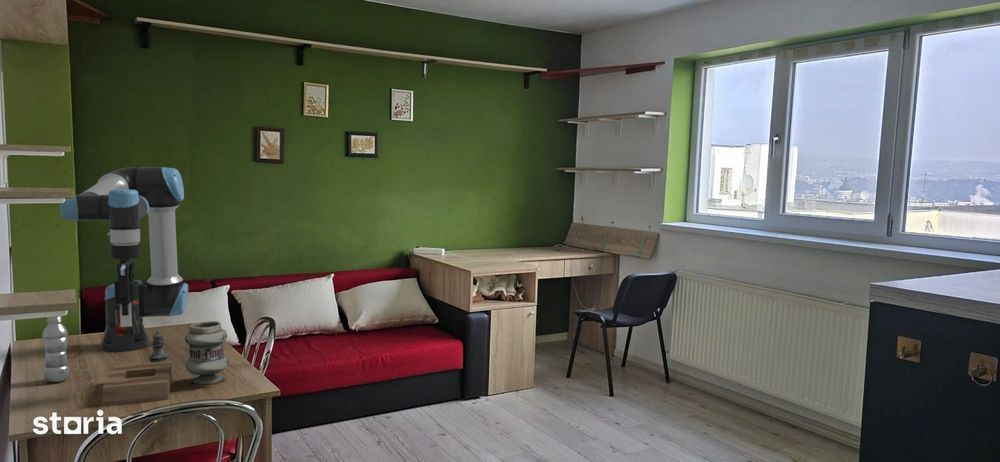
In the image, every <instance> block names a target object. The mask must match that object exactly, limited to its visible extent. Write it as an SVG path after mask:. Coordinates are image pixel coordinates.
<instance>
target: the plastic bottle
mask: <svg viewBox="0 0 1000 462" xmlns="http://www.w3.org/2000/svg"><path fill="white" fill-rule="evenodd" d="M46 324H47V325H46V326H45V328H44V329H43V331H42V335H41V337H42V339H43V345H44V353H45V354H44V355H45V359H44V368H43V372H42V373H43V374H42V375H43V378H44V381H46V382H48V383H59V382H63V381H66V380H67V379H68V378H69V377H70V372H71V371H70V366H69V364H68V363H69V362H68V357H67V356H68V355H67V349H68V340H69V339H68V336H69V331H68V329H67V327H66V326H65V325H64V324H63V315H62V316H57V317H47V316H46Z"/></svg>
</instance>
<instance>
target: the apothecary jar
mask: <svg viewBox="0 0 1000 462" xmlns="http://www.w3.org/2000/svg"><path fill="white" fill-rule="evenodd" d="M227 339H228V333H227V331H226V330H225V329H223V327H222V324H221V322H220V321H214V320H210V321H209V320H208V321H199V322H195V323H192V324H191V325H190V329H189V331H188V332H187V333H186V335H185V336H184V341H185V343H187V344H188V346H189V359H187V361H186V362H185V369H186V371H188V372H189V373H190V374H192V375H195V376H197V377H195V378H194V377H193V378H192V379H191V380H190V381H189V384H190V385H192V386H193V387H195V388H196V387H197V388H198V387H199V388H205V387H208V388H209V387H214V386H218V384H219V385H221V384H222V383H223V384H224V382H225V381H226V378H225V377H224V376H222V375H218V374H220V373H221V372H222V371H224V370H225V369H226V368H227V367H229V366H228V365H229V364H230V363H229V362H230V361H229V358H228V357H227V355H225V351H224V350H225V349H224V342H225V341H226V340H227Z"/></svg>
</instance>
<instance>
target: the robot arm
mask: <svg viewBox="0 0 1000 462" xmlns="http://www.w3.org/2000/svg"><path fill="white" fill-rule="evenodd" d="M184 188H185V187H184V183H183V179H182V175H181V173H180V171H179V170H178V169H176V168H174V167H173V168H172V167H163V166H161V167H157V166H156V167H155V166H153V167H150V166H146V167H139V166H138V167H135V166H130V167H129V166H128V167H122V168H119V169H116V170H113V171H109V172H108V173H106V174H104V175H102V176H101V177H99V179H98V180H97V183H96V184H94V185H93V186H91V187H89V188H88V189H87V190H84V191H83V192H81V193H79V194H75V198H74V199H66V200H65V202H64V203H60V202H59V211H60V215H61V217H62V219H64V220H65V221H75V222H78V221H109V232H107V233H106V234H107V236H108V237H109V242H110V244H111V245H110V246H109V247H110V249H109V250H110V252H109V253H110V254H109V255H110V258H111V259H115V260H119V263H118V264H117V265H116V269H117V270H116V271H117V282H118V298H119V300H118V302H117V304H120V327H128V326H132V322H131V303H130V281H132V280H134V281H138V300H139V334H136V335H131V336H118V335H116V315H115V287H114V283H113V284H110V285H108V286H107V287H106V288H105V290H104V292H105V293H104V294H105V296H104V303H105V307H104V308H105V330H104V332H103V336H102V338H101V342H100V349H101V350H103V351H106V352H107V351H108V352H127V351H134V350H139V349H143V348H144V347H147V346H149V344H150V338H149V335H148V333H147V330H146V328H145V324H144V318H145V317H146V318H148V317H151V318H152V317H173V316H175V317H176V316H181V315H182V314H184V312H185V310H186V306H187V301H188V295H189V284H188V283H185V282H184V279H183V277H182V276H180V274H179V269H178V247H177V246H178V245H177V229H176V227H177V226H176V210H177V208H179V206H180V202H182V201H184V198H185V193H184V192H185V189H184ZM146 215H147V216H148V236H149V251H150V253H149V254H150V256H149V257H150V270H151V276H150V277H149V278H148V279H147V280H146V284H143V282H142V280H141V279H138V280H137V279H135V262H134V261H133V259H137V258H140V257H141V245H140V244H139V243H140V242H141V228H140V220H141V219H143V218H145V216H146ZM123 298H126V299H123Z"/></svg>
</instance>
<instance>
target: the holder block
mask: <svg viewBox="0 0 1000 462" xmlns="http://www.w3.org/2000/svg"><path fill="white" fill-rule="evenodd" d="M173 379H174V362H173V360H166V361H164V362H152V363H151V362H141V363H129V364H116V365H113V367H112V369H111V370H110V373H109V375H108V376H107V379H106V380H105V383H104V384H103V386H102V405H103V406H113V405H121V404H124V405H125V404H132V403H142V402H152V401H162V400H163V401H164V400H169V397H170V392H171V389H172V384H173Z"/></svg>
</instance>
